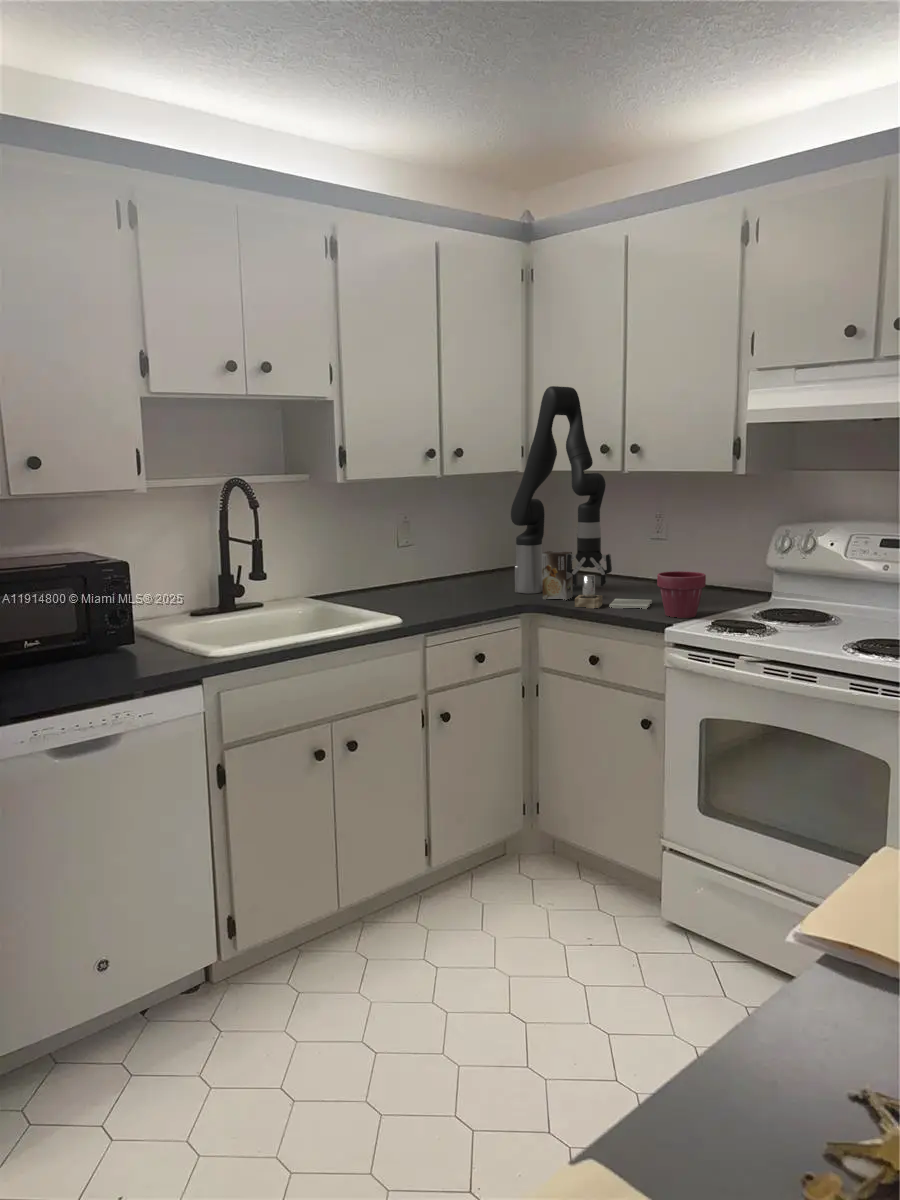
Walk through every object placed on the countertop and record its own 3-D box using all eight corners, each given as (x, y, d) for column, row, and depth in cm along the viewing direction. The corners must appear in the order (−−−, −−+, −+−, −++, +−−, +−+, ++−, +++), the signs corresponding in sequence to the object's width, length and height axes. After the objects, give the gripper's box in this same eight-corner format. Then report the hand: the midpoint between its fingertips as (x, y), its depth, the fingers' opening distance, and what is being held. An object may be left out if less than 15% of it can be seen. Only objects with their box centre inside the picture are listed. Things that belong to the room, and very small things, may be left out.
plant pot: (675, 609, 279) (675, 569, 277) (714, 615, 269) (715, 573, 267) (647, 615, 270) (647, 574, 268) (686, 621, 260) (687, 578, 258)
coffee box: (573, 598, 305) (573, 551, 302) (567, 601, 299) (566, 553, 297) (548, 596, 309) (548, 550, 306) (541, 599, 304) (541, 552, 301)
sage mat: (609, 608, 285) (609, 604, 284) (615, 601, 296) (615, 598, 296) (647, 609, 281) (647, 606, 280) (651, 602, 292) (651, 599, 292)
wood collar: (574, 607, 287) (574, 598, 286) (579, 603, 294) (579, 594, 293) (598, 608, 284) (598, 599, 283) (602, 604, 291) (602, 595, 291)
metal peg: (581, 607, 288) (581, 576, 286) (583, 604, 291) (583, 574, 290) (593, 607, 286) (593, 576, 285) (595, 605, 290) (596, 575, 288)
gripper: (613, 535, 286) (613, 584, 289) (569, 534, 291) (569, 583, 293) (609, 537, 279) (609, 588, 282) (564, 537, 284) (565, 587, 286)
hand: (589, 585), depth 288 cm, fingers open, 8 cm apart
